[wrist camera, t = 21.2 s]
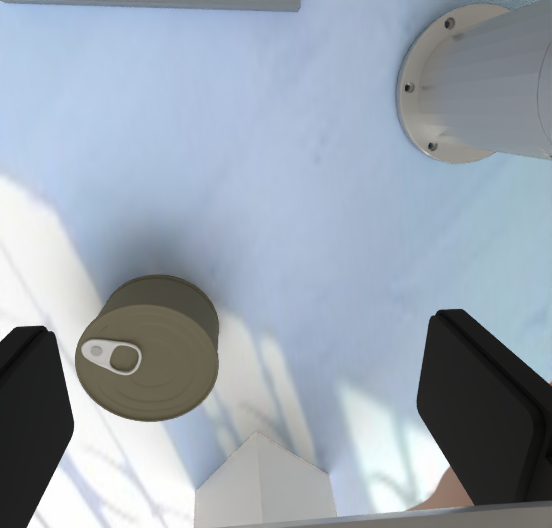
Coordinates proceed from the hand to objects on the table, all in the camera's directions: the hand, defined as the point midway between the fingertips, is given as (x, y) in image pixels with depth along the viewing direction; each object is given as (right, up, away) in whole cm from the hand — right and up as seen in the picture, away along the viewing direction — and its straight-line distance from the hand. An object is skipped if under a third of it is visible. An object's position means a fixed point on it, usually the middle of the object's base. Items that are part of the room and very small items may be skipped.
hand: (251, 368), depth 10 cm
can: (-11, -4, +31) cm, 33 cm away
